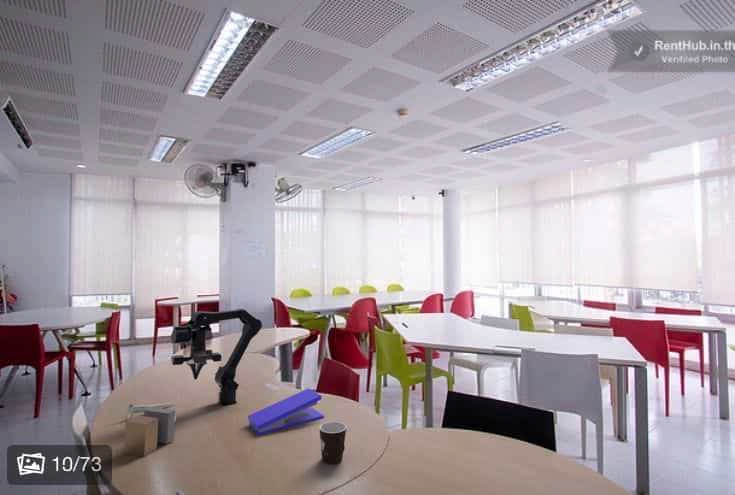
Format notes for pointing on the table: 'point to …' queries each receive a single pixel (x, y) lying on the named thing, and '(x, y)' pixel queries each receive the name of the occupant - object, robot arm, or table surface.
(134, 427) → the tan rectangular block
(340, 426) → the dark brown cup
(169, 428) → the gray concrete brick
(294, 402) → the stapler
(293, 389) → the table surface
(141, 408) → the caliper
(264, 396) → the table surface
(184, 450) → the table surface
